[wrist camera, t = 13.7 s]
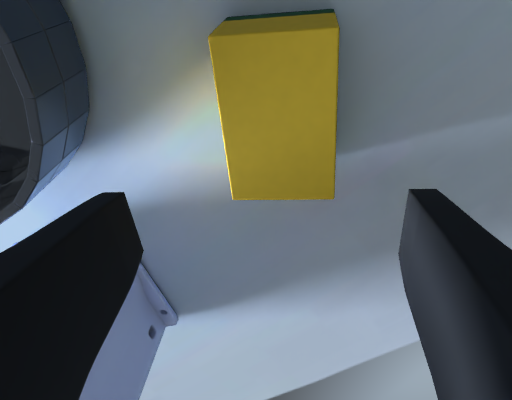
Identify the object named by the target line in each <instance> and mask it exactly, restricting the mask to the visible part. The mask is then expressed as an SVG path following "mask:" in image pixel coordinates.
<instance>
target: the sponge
mask: <svg viewBox="0 0 512 400" xmlns="http://www.w3.org/2000/svg"><path fill="white" fill-rule="evenodd" d="M339 31H340V28H339V25H338V21H337V18H336V14H335V12H334V9H324V10H312V11H299V12H286V13H274V14H261V15H248V16H236V17H227V18H226V19H225V20H224V21H223V22H222V23H221V24H220V25H219V26H218V27H217V28H216V29H215V30H214V31H213V32H212V33H211V34H210V35H209V36H208V40H209V47H210V53H211V60H212V67H213V73H214V80H215V87H216V93H217V100H218V107H219V113H220V120H221V127H222V133H223V140H224V146H225V153H226V160H227V166H228V173H229V180H230V186H231V193H232V199H233V200H305V199H334V196H335V163H336V130H337V97H338V64H339Z"/></svg>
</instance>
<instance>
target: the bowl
mask: <svg viewBox="0 0 512 400" xmlns="http://www.w3.org/2000/svg"><path fill="white" fill-rule="evenodd" d="M88 113H89V96H88V84H87V72H86V65H85V62H84V59H83V56H82V53H81V50H80V47H79V44H78V41H77V38H76V35H75V32H74V29H73V26H72V23H71V21H70V19H69V17H68V15H67V13H66V12H65V10H64V8H63V6H62V5H61V3H60V1H59V0H0V224H2V223H3V222H5V221H6V220H7V219H9V218H10V217H12V216H13V215H14V214H16V213H17V212H19V211H20V210H21V209H23V208H24V207H25V206H26V205H27V204H28V203H29V202H30V201H31V200H32V199H33V198H34V197H35V196H36V195H37V194H38V193H39V192H40V191H41V190H43V189H44V188H45V187H46V186H47V185H48V184H49V183H50V182H51V181H52V180H53V179H54V178H55V177H56V176H57V175H58V174H59V173H60V172H61V171H62V170H63V169H64V168H65V167H66V166H67V165H68V164H69V162H70V161H71V159H72V158H73V156H74V154H75V153H76V151H77V150H78V148H79V147H80V145H81V143H82V141H83V137H84V132H85V127H86V122H87V118H88Z"/></svg>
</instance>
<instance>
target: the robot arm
mask: <svg viewBox="0 0 512 400" xmlns="http://www.w3.org/2000/svg"><path fill="white" fill-rule="evenodd" d="M143 251H144V250H143V247H142V244H141V241H140V238H139V235H138V232H137V229H136V226H135V223H134V220H133V217H132V214H131V211H130V209H129V206H128V203H127V200H126V197H125V194H124V192H105V193H101V194H99V195H97V196H95V197H93V198H91V199H89V200H87V201H86V202H84V203H82V204H81V205H79V206H77V207H76V208H74V209H72V210H71V211H69V212H67V213H66V214H64V215H63V216H61V217H59V218H58V219H56V220H55V221H53V222H51V223H50V224H48V225H47V226H45V227H43V228H42V229H40V230H38V231H37V232H35V233H34V234H32V235H30V236H29V237H27V238H25V239H24V240H22V241H20V242H17V243H14V244H13V245H12V246H11V247H10V248H8V249H6V250H5V251H3V252H1V253H0V400H139V398H140V395H141V393H142V390H143V387H144V384H145V382H146V379H147V376H148V374H149V371H150V368H151V365H152V363H153V360H154V357H155V355H156V352H157V349H158V347H159V344H160V341H161V338H162V336H163V333H164V330H165V328H166V326H173V325H176V324H177V321H178V317H177V315H176V314H175V312H174V311H173V309H172V308H171V306H170V305H169V303H168V302H167V301H166V299H165V298H164V296H163V295H162V293H161V292H160V290H159V289H158V287H157V286H156V285H155V283H154V282H153V280H152V279H151V277H150V276H149V274H148V273H147V271H146V270H145V269H144V267H143V266H142V264H141V263H140V261H141V258H142V254H143ZM399 260H400V266H401V272H402V278H403V283H404V288H405V292H406V296H407V299H408V302H409V306H410V309H411V312H412V315H413V319H414V322H415V325H416V328H417V331H418V334H419V337H420V341H421V344H422V347H423V350H424V353H425V356H426V359H427V363H428V366H429V369H430V372H431V375H432V379H433V382H434V386H435V390H436V394H437V397H438V400H512V250H511V249H510V248H509V247H507V246H506V245H505V244H503V243H502V242H501V241H499V240H498V239H497V238H496V237H494V236H493V235H492V234H491V233H489V232H488V231H487V230H486V229H484V228H483V227H482V226H481V225H479V224H478V223H477V222H476V221H474V220H473V219H472V218H471V217H470V216H468V215H467V214H466V213H465V212H464V211H462V210H461V209H460V208H459V207H458V206H457V205H455V204H454V203H453V202H452V201H451V200H449V199H448V198H447V197H446V196H445V195H443V194H442V193H441V192H439V191H438V190H437V189H409V191H408V197H407V204H406V210H405V216H404V223H403V229H402V235H401V241H400V248H399Z"/></svg>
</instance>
